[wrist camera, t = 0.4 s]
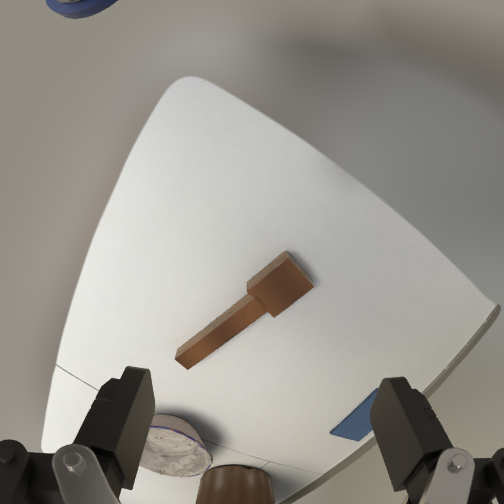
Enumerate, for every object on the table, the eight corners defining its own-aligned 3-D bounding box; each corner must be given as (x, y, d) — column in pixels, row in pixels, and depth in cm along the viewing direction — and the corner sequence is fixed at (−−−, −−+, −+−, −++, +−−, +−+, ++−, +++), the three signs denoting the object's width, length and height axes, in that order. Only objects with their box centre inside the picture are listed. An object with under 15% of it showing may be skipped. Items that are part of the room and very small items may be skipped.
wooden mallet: (196, 364, 35) (194, 375, 33) (171, 343, 34) (167, 353, 32) (310, 278, 32) (314, 287, 30) (285, 250, 31) (287, 257, 29)
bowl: (146, 387, 37) (136, 414, 32) (230, 427, 39) (229, 454, 35) (117, 430, 40) (108, 453, 36) (189, 463, 43) (185, 486, 38)
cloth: (358, 439, 41) (358, 441, 41) (329, 432, 40) (330, 434, 40) (403, 398, 38) (404, 400, 38) (376, 388, 37) (377, 390, 37)
